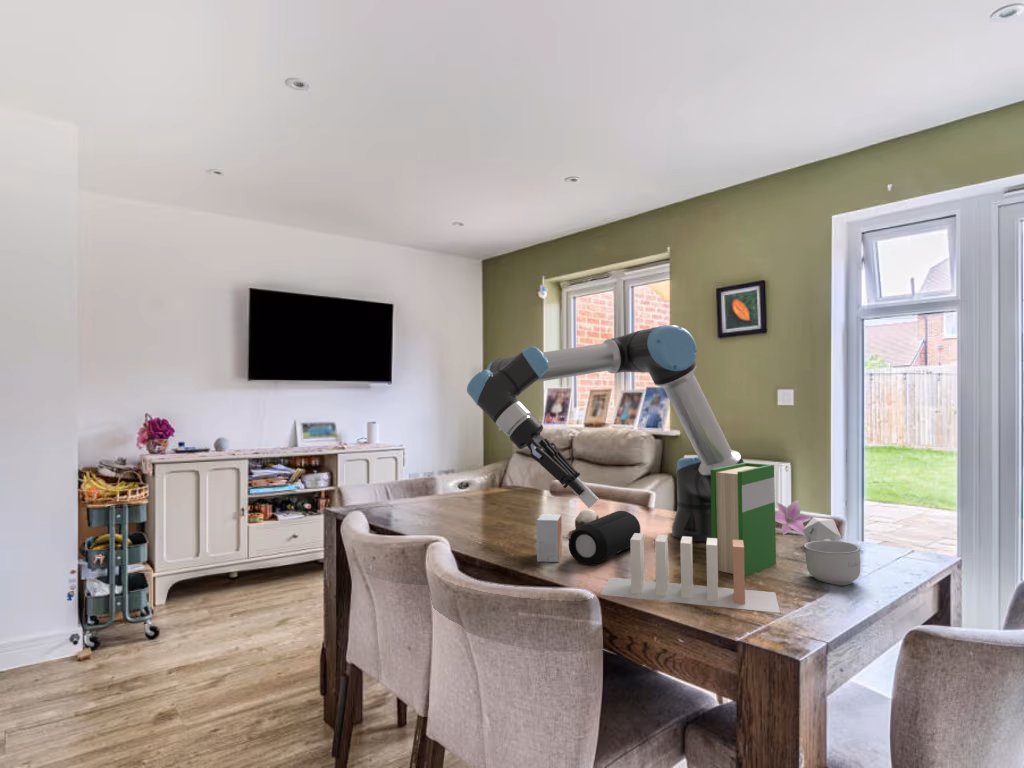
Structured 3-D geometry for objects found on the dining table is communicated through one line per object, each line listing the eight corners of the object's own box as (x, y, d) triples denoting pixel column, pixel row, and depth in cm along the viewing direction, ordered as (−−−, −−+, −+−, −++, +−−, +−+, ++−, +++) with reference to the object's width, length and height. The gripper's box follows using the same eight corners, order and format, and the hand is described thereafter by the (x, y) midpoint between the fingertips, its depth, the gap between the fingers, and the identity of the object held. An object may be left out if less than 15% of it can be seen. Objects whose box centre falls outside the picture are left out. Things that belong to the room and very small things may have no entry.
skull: (577, 524, 186) (597, 502, 182) (599, 550, 181) (620, 528, 178) (558, 531, 176) (579, 507, 172) (581, 558, 171) (603, 534, 168)
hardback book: (743, 580, 132) (741, 472, 133) (712, 573, 138) (710, 469, 138) (776, 563, 145) (774, 464, 145) (746, 557, 150) (744, 462, 150)
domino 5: (734, 602, 117) (733, 546, 117) (733, 593, 122) (732, 539, 122) (745, 604, 116) (743, 547, 116) (744, 594, 121) (743, 540, 122)
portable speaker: (610, 543, 167) (610, 507, 167) (644, 547, 161) (643, 510, 162) (565, 565, 146) (565, 524, 146) (602, 571, 141) (601, 529, 141)
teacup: (860, 592, 123) (859, 553, 123) (802, 584, 129) (801, 547, 129) (862, 574, 135) (861, 539, 135) (809, 568, 141) (808, 534, 141)
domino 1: (631, 592, 123) (630, 539, 123) (635, 583, 129) (634, 533, 129) (641, 593, 123) (640, 540, 123) (644, 584, 128) (643, 533, 128)
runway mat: (600, 596, 122) (599, 594, 122) (610, 579, 134) (610, 577, 134) (780, 615, 111) (780, 612, 111) (775, 594, 122) (775, 592, 122)
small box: (558, 563, 148) (558, 520, 148) (536, 562, 149) (535, 519, 149) (562, 554, 155) (561, 514, 156) (541, 553, 157) (540, 513, 157)
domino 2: (655, 595, 122) (655, 541, 122) (658, 586, 127) (658, 534, 127) (666, 596, 121) (665, 541, 121) (668, 587, 127) (667, 535, 127)
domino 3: (681, 597, 120) (680, 542, 120) (683, 588, 126) (682, 536, 126) (691, 598, 119) (690, 543, 119) (693, 589, 125) (692, 536, 125)
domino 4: (707, 600, 118) (706, 544, 118) (708, 590, 124) (707, 537, 124) (718, 601, 118) (716, 545, 118) (718, 591, 123) (717, 538, 123)
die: (801, 545, 164) (793, 521, 160) (827, 529, 165) (820, 504, 160) (823, 563, 156) (816, 538, 152) (850, 546, 157) (843, 521, 153)
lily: (762, 534, 178) (768, 511, 174) (772, 515, 186) (778, 492, 182) (801, 550, 172) (808, 527, 168) (809, 529, 180) (817, 507, 176)
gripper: (518, 435, 142) (588, 509, 136) (499, 439, 130) (575, 521, 124) (539, 413, 140) (611, 487, 134) (522, 415, 128) (600, 496, 122)
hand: (594, 503), depth 129 cm, fingers closed
